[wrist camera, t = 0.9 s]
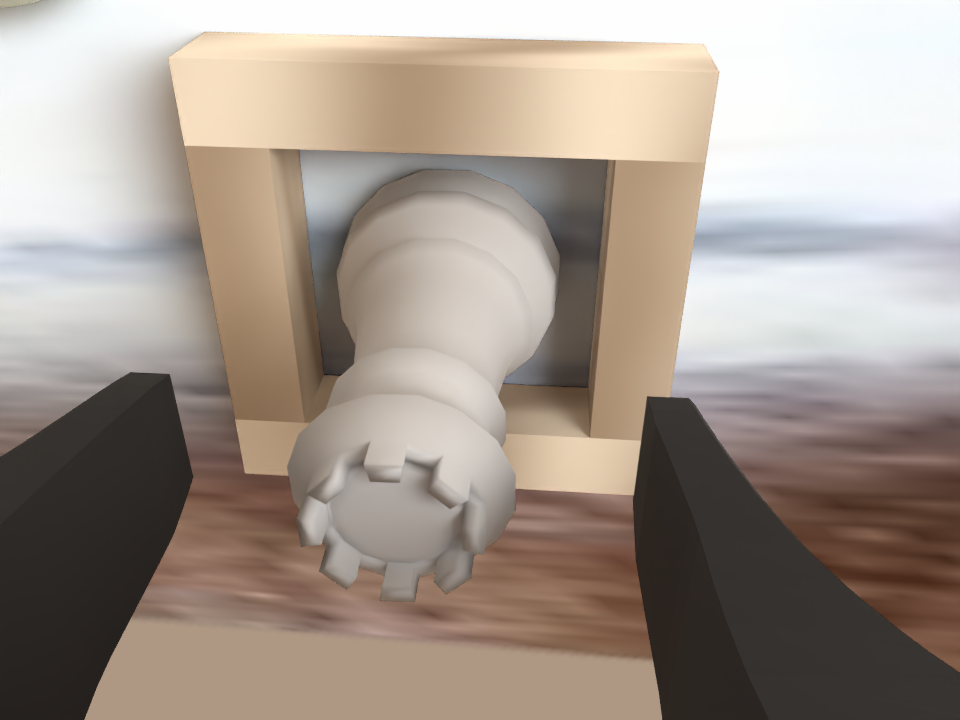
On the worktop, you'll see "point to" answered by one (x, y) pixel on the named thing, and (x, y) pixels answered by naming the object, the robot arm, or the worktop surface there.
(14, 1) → the coaster
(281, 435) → the pocket block
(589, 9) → the worktop surface
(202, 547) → the worktop surface
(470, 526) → the rook chess piece
